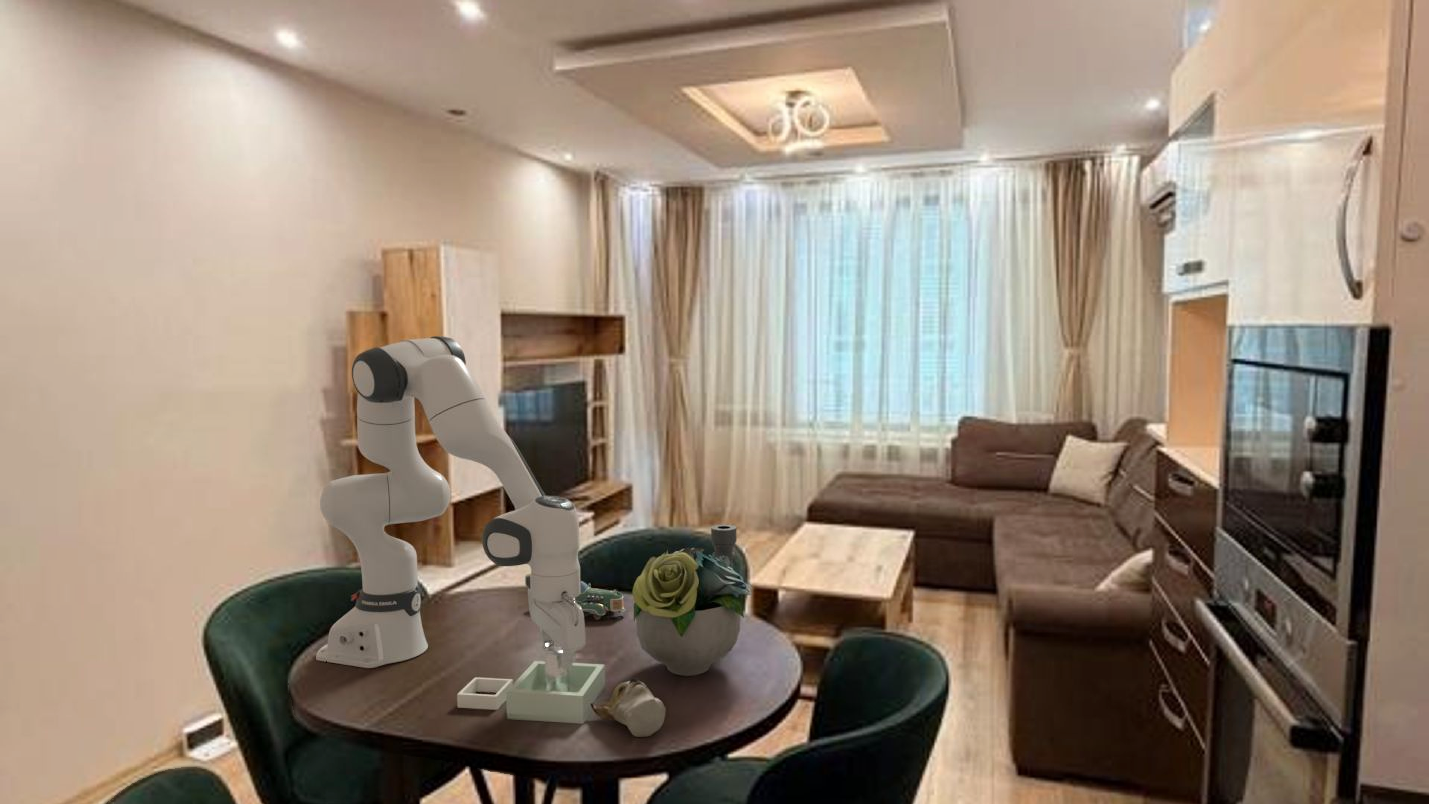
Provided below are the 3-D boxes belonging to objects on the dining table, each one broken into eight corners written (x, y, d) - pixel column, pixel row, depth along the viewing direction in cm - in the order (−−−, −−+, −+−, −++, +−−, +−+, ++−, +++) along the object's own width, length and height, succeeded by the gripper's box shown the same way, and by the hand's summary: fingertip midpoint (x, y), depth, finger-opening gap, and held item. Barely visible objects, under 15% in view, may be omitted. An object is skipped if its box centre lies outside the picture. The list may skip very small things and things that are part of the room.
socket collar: (457, 707, 149) (457, 694, 149) (475, 690, 157) (475, 677, 157) (497, 709, 148) (496, 696, 148) (513, 692, 156) (512, 679, 156)
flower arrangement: (664, 639, 183) (663, 531, 181) (767, 657, 172) (767, 543, 170) (602, 680, 161) (600, 558, 159) (716, 704, 150) (715, 574, 148)
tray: (506, 718, 145) (506, 691, 144) (535, 686, 159) (534, 660, 158) (583, 723, 143) (582, 696, 142) (605, 689, 157) (604, 664, 156)
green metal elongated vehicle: (616, 624, 193) (615, 590, 192) (522, 615, 200) (521, 582, 200) (632, 612, 202) (631, 579, 202) (541, 603, 209) (541, 571, 209)
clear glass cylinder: (543, 703, 148) (542, 655, 148) (547, 693, 153) (547, 646, 152) (567, 703, 148) (566, 655, 148) (571, 693, 153) (570, 646, 152)
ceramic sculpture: (625, 697, 133) (586, 672, 145) (627, 750, 133) (587, 720, 146) (680, 682, 139) (638, 659, 151) (682, 733, 139) (640, 706, 151)
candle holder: (717, 643, 180) (716, 531, 179) (706, 634, 186) (705, 525, 184) (742, 638, 183) (742, 529, 181) (731, 630, 189) (730, 523, 187)
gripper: (594, 598, 142) (595, 675, 143) (553, 569, 159) (554, 637, 161) (559, 604, 139) (560, 683, 140) (521, 574, 156) (523, 644, 157)
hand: (557, 658), depth 150 cm, fingers open, 8 cm apart
